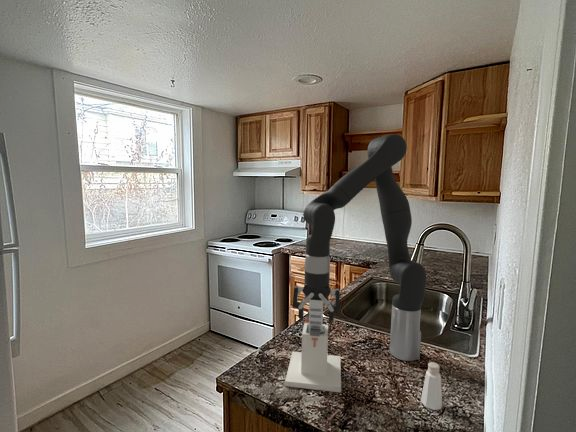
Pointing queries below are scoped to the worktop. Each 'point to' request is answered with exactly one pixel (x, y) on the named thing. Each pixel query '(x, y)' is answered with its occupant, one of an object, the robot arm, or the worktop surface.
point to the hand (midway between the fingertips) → (315, 321)
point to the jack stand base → (314, 363)
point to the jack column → (315, 314)
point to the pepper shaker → (432, 388)
